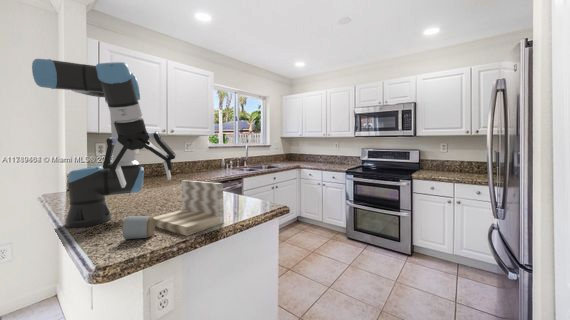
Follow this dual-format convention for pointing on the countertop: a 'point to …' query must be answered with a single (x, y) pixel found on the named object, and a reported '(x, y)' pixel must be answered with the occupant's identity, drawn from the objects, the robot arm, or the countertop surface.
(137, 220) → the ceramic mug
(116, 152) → the robot arm
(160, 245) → the countertop surface
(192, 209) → the wall shelf
